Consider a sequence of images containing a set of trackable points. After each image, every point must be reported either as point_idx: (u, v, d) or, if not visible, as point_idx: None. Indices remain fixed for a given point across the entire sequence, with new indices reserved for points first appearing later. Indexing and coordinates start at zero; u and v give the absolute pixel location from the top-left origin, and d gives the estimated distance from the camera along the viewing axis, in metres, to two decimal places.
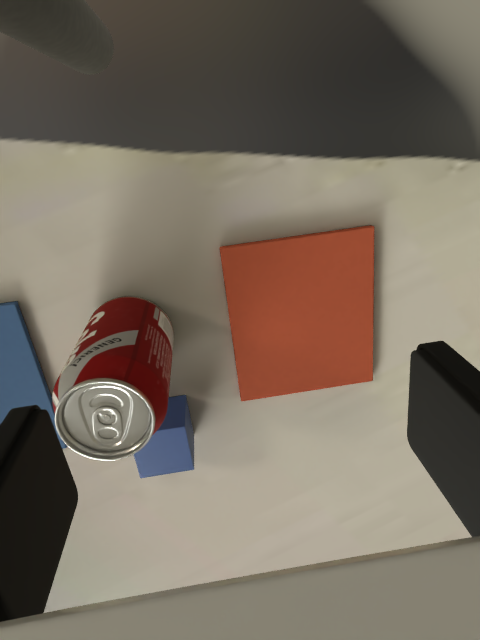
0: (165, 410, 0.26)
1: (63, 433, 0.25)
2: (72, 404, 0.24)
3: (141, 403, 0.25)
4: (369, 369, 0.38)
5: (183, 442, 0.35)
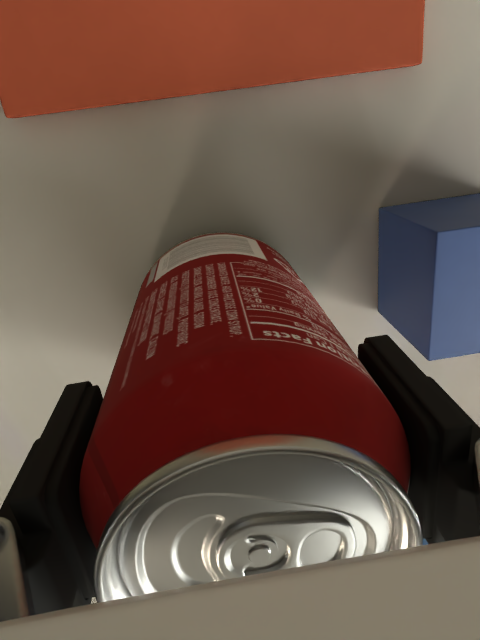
0: (283, 360, 0.07)
1: None
2: None
3: (206, 469, 0.07)
4: None
5: None
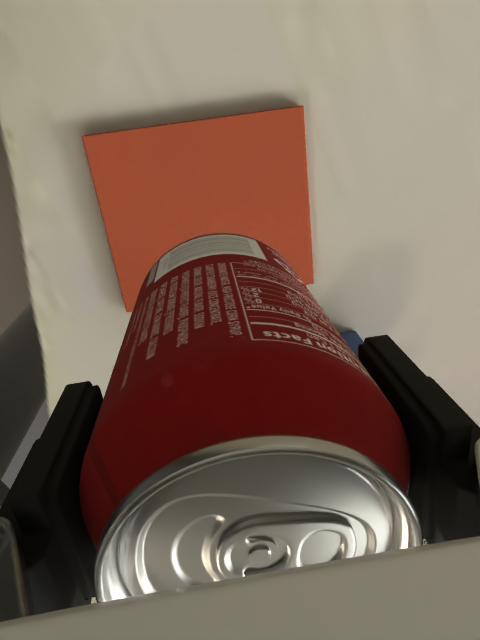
0: (283, 360, 0.07)
1: None
2: None
3: (206, 470, 0.07)
4: (283, 114, 0.27)
5: None
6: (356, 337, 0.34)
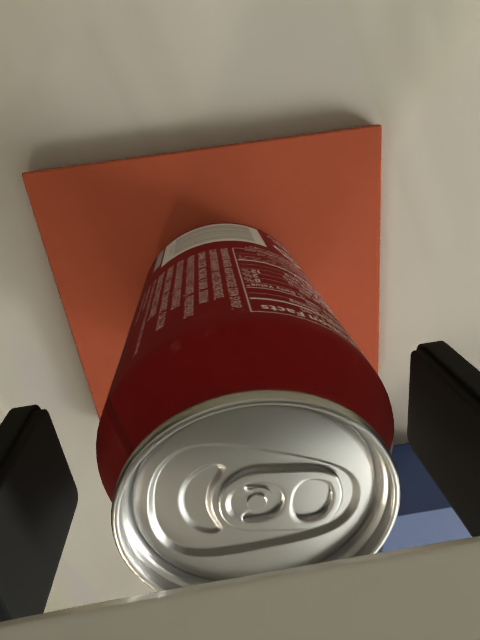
0: (278, 328, 0.08)
1: None
2: (206, 567, 0.09)
3: (210, 421, 0.08)
4: (349, 138, 0.17)
5: (414, 518, 0.20)
6: None
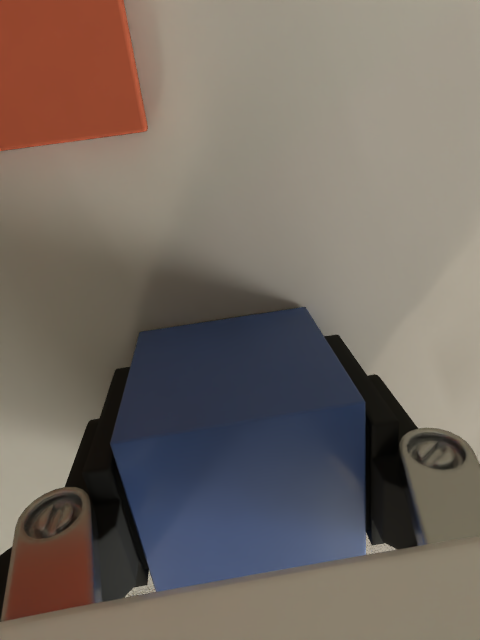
0: None
1: None
2: None
3: None
4: None
5: (202, 446, 0.08)
6: (305, 325, 0.11)
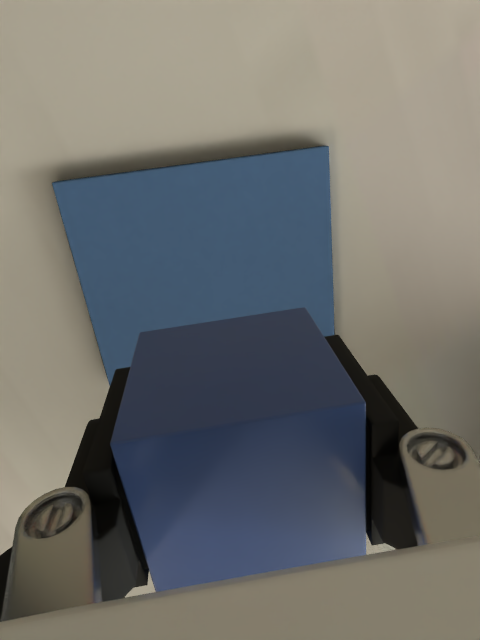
0: None
1: None
2: None
3: None
4: None
5: (202, 447, 0.08)
6: (305, 325, 0.11)
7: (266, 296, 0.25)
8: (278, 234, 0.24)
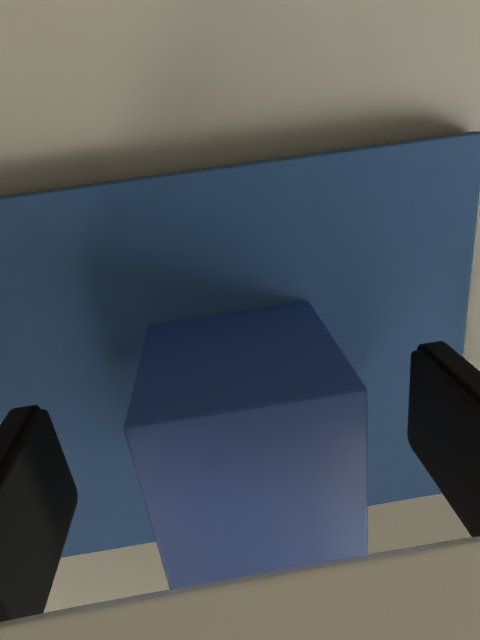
0: None
1: None
2: None
3: None
4: None
5: (211, 431, 0.08)
6: (309, 318, 0.11)
7: None
8: (369, 304, 0.12)
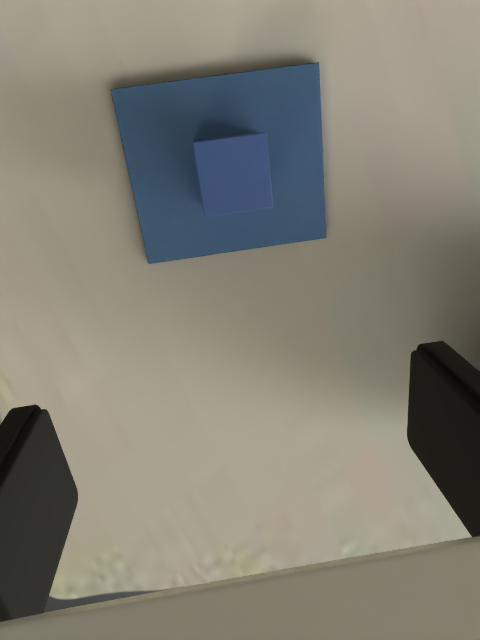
0: None
1: None
2: None
3: None
4: None
5: (219, 145, 0.26)
6: (254, 132, 0.29)
7: (271, 187, 0.32)
8: (281, 134, 0.31)
